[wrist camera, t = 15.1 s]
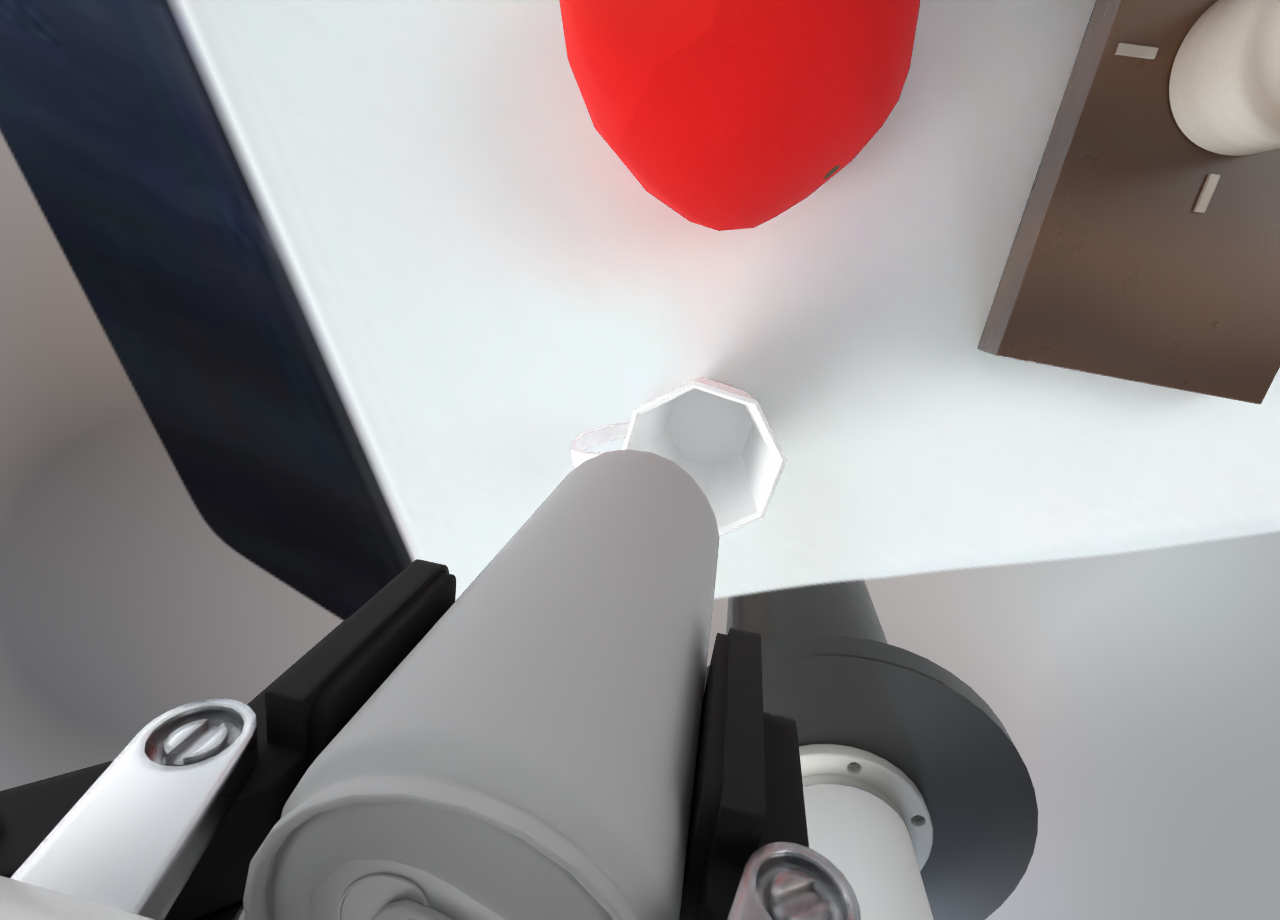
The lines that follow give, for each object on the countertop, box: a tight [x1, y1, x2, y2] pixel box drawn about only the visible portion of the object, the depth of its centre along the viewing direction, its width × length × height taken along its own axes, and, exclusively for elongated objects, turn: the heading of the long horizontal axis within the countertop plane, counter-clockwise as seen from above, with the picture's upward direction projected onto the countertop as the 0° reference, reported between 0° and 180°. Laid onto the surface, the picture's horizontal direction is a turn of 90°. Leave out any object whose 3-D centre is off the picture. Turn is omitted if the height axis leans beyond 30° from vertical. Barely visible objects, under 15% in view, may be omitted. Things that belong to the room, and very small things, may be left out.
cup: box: [571, 377, 786, 536], centre depth 30 cm, size 7×10×8 cm
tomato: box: [560, 0, 920, 231], centre depth 23 cm, size 13×13×13 cm
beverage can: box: [243, 449, 719, 920], centre depth 12 cm, size 5×5×12 cm
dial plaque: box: [978, 0, 1280, 404], centre depth 26 cm, size 17×11×3 cm, turn 171°
